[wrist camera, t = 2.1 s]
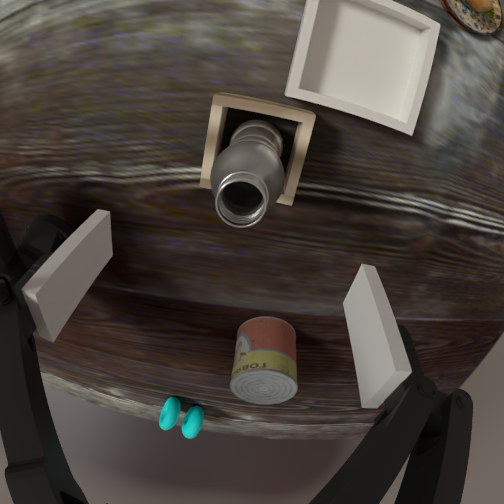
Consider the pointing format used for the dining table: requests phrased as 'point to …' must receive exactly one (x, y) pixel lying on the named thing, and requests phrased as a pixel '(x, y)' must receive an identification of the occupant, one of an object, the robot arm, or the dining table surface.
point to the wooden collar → (265, 107)
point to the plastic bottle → (248, 174)
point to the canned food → (265, 361)
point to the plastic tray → (364, 59)
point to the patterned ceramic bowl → (475, 15)
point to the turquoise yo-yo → (191, 419)
